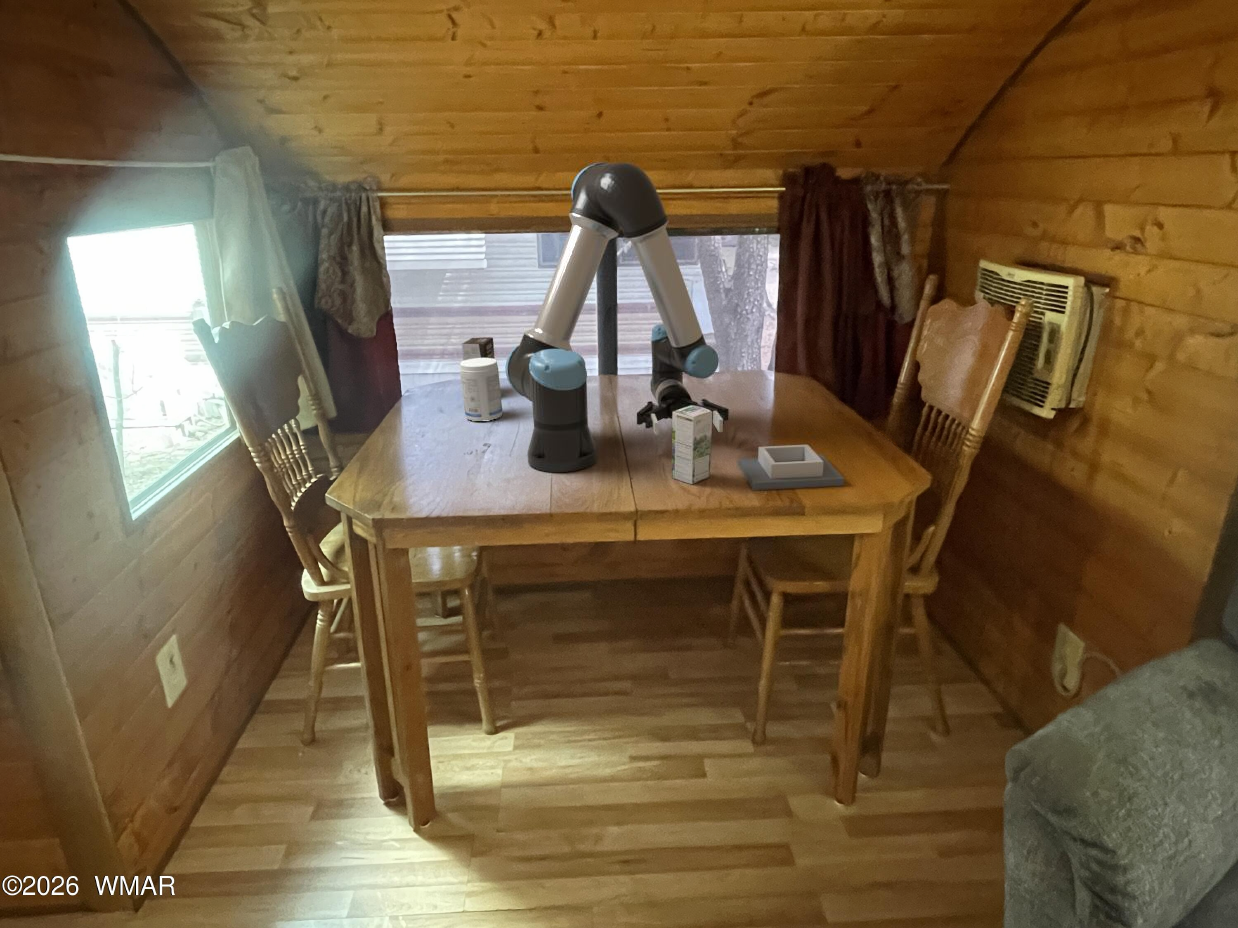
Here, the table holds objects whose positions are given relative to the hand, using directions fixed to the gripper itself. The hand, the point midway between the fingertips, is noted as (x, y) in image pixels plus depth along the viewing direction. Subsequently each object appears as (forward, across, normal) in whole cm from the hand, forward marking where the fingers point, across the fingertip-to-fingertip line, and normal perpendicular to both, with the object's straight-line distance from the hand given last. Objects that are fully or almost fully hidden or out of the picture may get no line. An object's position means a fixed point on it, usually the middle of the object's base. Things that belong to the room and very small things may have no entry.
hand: (689, 427), depth 165 cm
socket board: (+9, -19, -8) cm, 23 cm away
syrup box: (+8, +1, -9) cm, 11 cm away
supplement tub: (-42, +46, -9) cm, 63 cm away
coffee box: (-62, +48, -9) cm, 79 cm away
